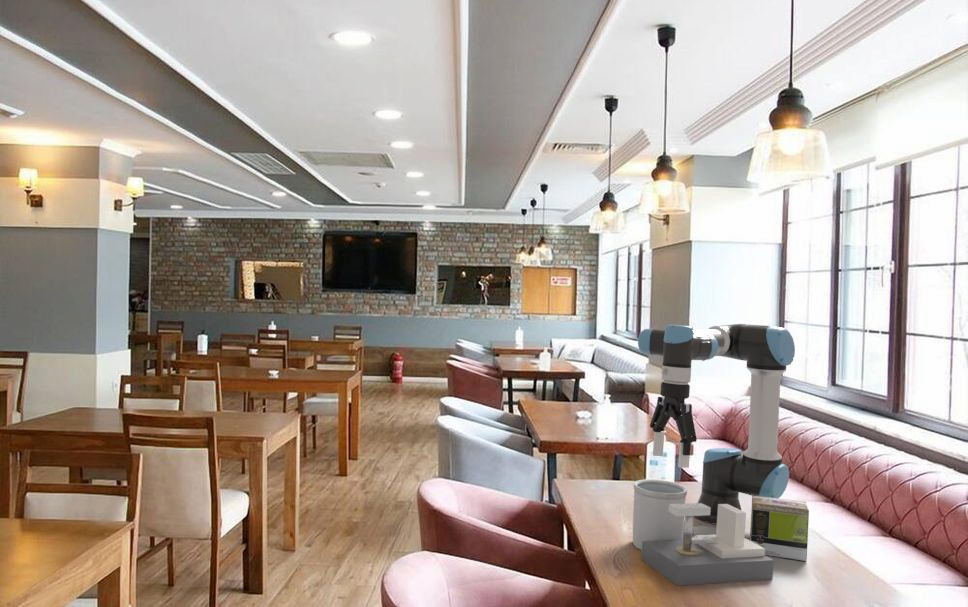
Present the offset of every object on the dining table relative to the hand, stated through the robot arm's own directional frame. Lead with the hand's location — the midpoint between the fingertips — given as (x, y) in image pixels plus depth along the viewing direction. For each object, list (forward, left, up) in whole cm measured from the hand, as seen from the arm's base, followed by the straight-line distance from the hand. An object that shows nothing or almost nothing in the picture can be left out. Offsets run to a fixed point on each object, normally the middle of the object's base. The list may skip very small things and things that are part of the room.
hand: (670, 461), depth 198 cm
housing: (-9, +6, -27) cm, 29 cm away
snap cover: (-16, +6, -22) cm, 28 cm away
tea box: (-39, -3, -28) cm, 48 cm away
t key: (-5, +6, -22) cm, 23 cm away
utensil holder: (-5, -12, -28) cm, 30 cm away
